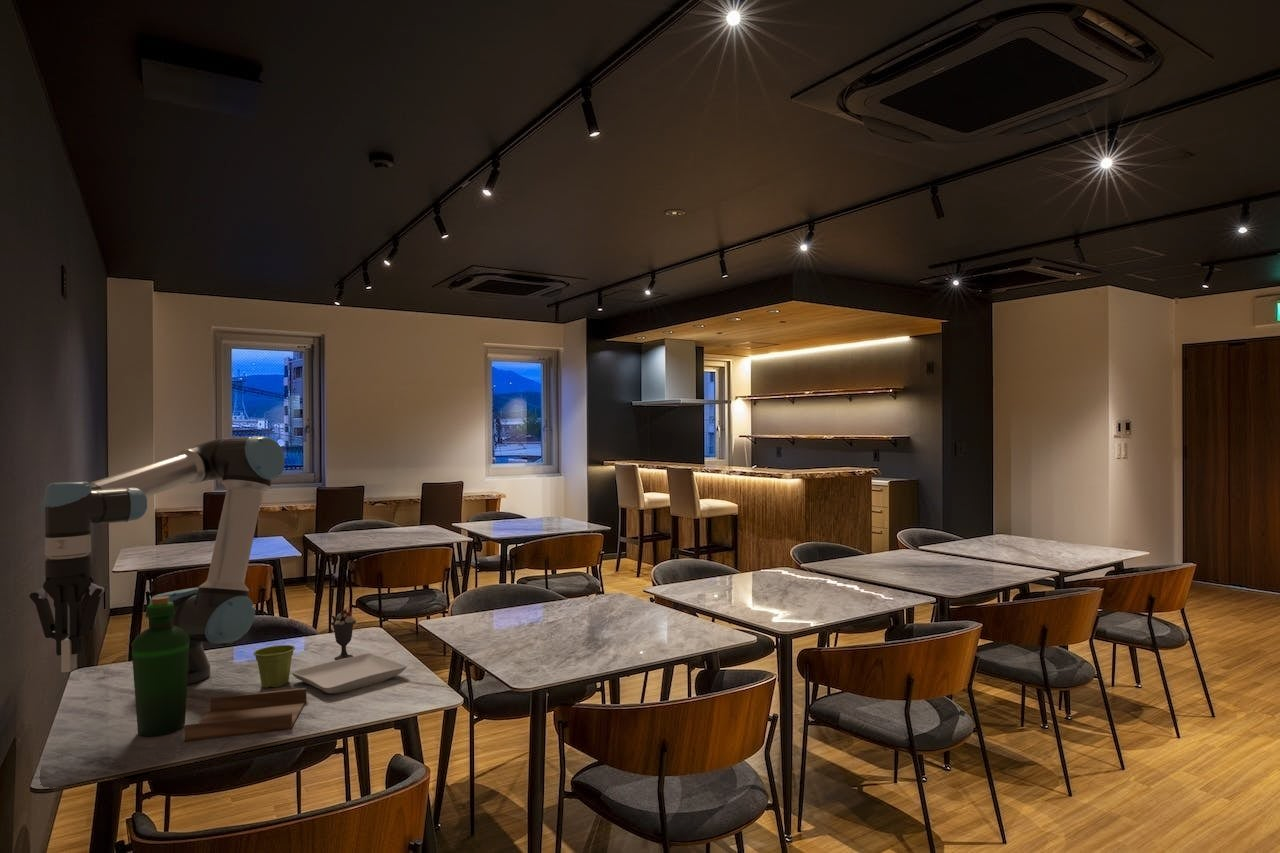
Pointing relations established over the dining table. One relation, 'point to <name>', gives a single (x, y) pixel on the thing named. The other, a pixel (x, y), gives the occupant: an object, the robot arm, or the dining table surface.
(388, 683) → the dining table surface
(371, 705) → the dining table surface
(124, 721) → the dining table surface
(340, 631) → the sundae
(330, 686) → the salad plate
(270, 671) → the plant pot
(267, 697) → the cradle
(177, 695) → the bottle
